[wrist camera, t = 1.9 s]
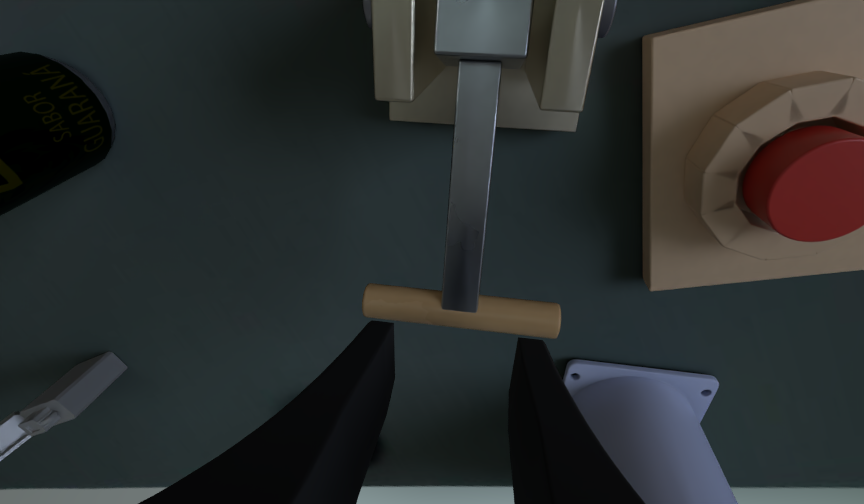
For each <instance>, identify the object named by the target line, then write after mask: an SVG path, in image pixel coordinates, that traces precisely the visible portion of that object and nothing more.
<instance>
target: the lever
mask: <svg viewBox="0 0 864 504" xmlns="http://www.w3.org/2000/svg"><path fill="white" fill-rule="evenodd" d="M533 6H534V0H436V19H435V37H434V53H435V55H436V56H437V57H438V58H439V59H440V60H441V62H442V63H443V64H444V65H446V66H458V76H457V90H456V104H455V118H454V132H453V146H452V161H451V175H450V189H449V203H448V217H447V231H446V245H445V259H444V273H443V287H442V291H438V290H429V289H420V288H410V287H401V286H391V285H382V284H372V283H370V284H368V285H367V286H366V288H365V291H364V294H363V300H362V311H363V315H364V316H365V317H369V318H378V319H387V320H396V321H404V322H413V323H422V324H430V325H439V326H448V327H456V328H465V329H474V330H482V331H491V332H500V333H509V334H517V335H526V336H535V337H543V338H552V339H554V338H557V336H558V334H559V331H560V325H561V309H560V306H559V304H557V303H552V302H542V301H533V300H523V299H514V298H504V297H495V296H486V295H479V292H480V282H481V272H482V262H483V252H484V242H485V232H486V222H487V213H488V203H489V193H490V183H491V173H492V163H493V153H494V143H495V133H496V123H497V113H498V103H499V93H500V83H501V73H502V69H520V68H521V66H522V65H523V63H524V61H525V59H526V58H527V56H528V49H529V40H530V32H531V23H532V15H533Z"/></svg>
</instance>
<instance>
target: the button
mask: <svg viewBox="0 0 864 504" xmlns="http://www.w3.org/2000/svg"><path fill="white" fill-rule="evenodd" d="M742 191H743V198H744V201H745V203H746V205H747V207H748V208H749V209H750V210H751V211H752V212H753V213H754V214H755V215H756V216H758V217H759V218H760V219H761V220H763V221H764V222H765V223H766V224H767V225H769V226H770V227H771V228H772V229H774V230H775V231H776V232H777V233H779V234H780V235H782V236H784V237H786V238H789V239H792V240H796V241H802V242H821V241H827V240H831V239H835V238H838V237H841V236H844V235H846V234H849V233H851V232H853V231H855V230H857V229H859V228H860V227H862V226H863V225H864V137H863V136H860V135H857V134H854V133H851V132H848V131H845V130H843V129H840V128H836V127H832V126H809V127H805V128H800V129H797V130H794V131H791V132H789V133H787V134H784V135H782V136H781V137H779V138H777V139H775V140H774V141H773V142H771V143H770V144H768V145H767V146H766V147H765V148H764V149H762V150H761V151H760V153H759V154H758V155H757V156H756V157H755V158H754V159H753V161H752V162H751V164H750V165H749V167H748V169H747V171H746V174H745V177H744V180H743V190H742Z"/></svg>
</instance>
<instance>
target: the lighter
mask: <svg viewBox="0 0 864 504" xmlns="http://www.w3.org/2000/svg"><path fill="white" fill-rule="evenodd" d="M126 369H127V366H126V365H125V364H124V363H123V362H122V361H121V360H120V359H119V358H118V357H117V356H116V355H115V354H114V353H113V352H110V351H109V352H106V353H104V354H101V355H99V356H96V357H94V358H92V359H89V360H87V361H84V362H82V363H79V364H77V365H76V366H75V367H73V368H72V369H71V370H70V371H69V372H67V373H66V374H65V375H64V376H63V377H61V378H60V379H59V380H58V381H57V382H55V383H54V384H53V385H52V386H51V387H49V388H48V389H47V390H46V391H45V392H43V393H42V394H41V395H40V396H39V397H37V398H36V399H35V400H34V401H33V402H31V403H30V404H29V405H28V406H27V407H25V408H24V409H23V410H22V411H21V412H19V411H17V412H13V413H11V414H10V415H9V416H7V417H6V418H5V419H3V420H2V421H0V461H1V460H2V459H4V458H5V457H6V456H8V455H9V454H10V453H11V452H13V451H14V450H15V449H16V448H18V447H19V446H20V445H22V444H23V443H24V442H25V441H27V440H28V439H29V438H31V437H32V436H34V435H37V434H40V433H43V432H46V431H48V430H49V429H50V428H51V427H52V426H54V425H57V424H60V423H63V422H66V421H69V420H72V419H74V418H76V417H77V416H78V415H79V414H80V413H81V412H82V411H83V410H84V409H86V408H87V407H88V406H89V405H90V404H91V403H92V402H93V401H94V400H95V399H96V398H97V397H98V396H99V395H100V394H101V393H102V392H103V391H104V390H105V389H106V388H107V387H109V386H110V385H111V384H112V383H113V382H114V381H115V380H116V379H117V378H118V377H119V376H120V375H121V374H122V373H123V372H124V371H125V370H126Z"/></svg>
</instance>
